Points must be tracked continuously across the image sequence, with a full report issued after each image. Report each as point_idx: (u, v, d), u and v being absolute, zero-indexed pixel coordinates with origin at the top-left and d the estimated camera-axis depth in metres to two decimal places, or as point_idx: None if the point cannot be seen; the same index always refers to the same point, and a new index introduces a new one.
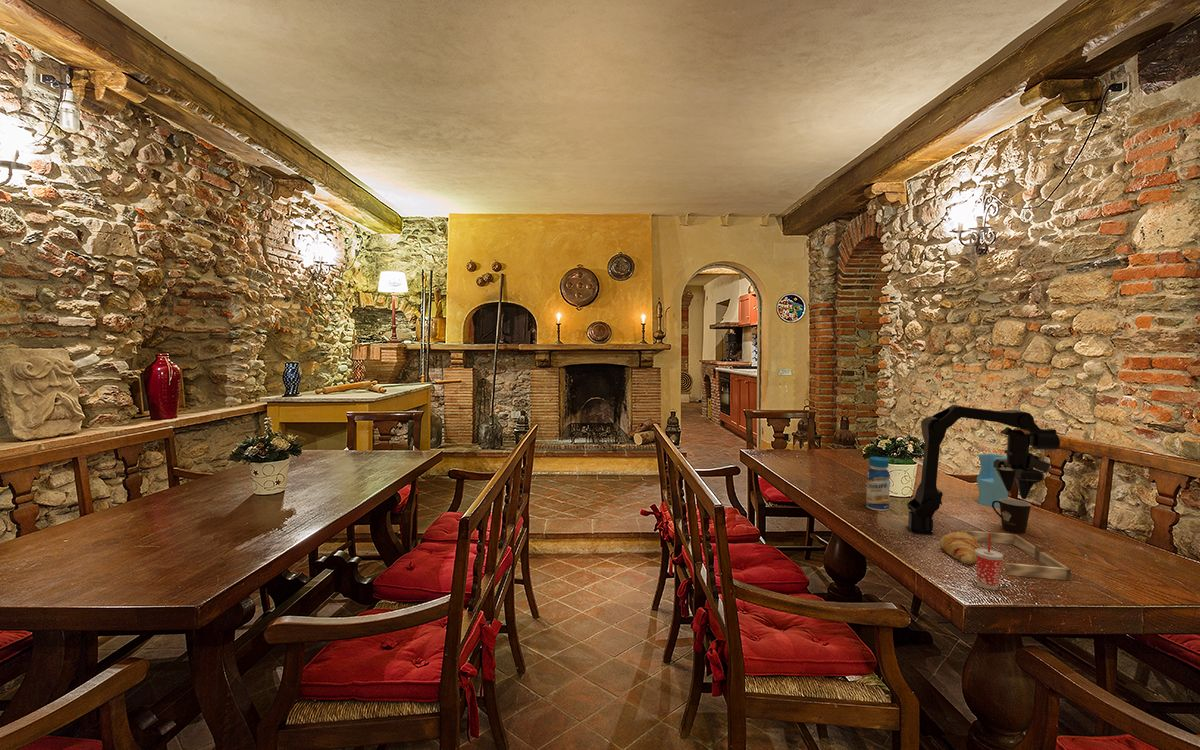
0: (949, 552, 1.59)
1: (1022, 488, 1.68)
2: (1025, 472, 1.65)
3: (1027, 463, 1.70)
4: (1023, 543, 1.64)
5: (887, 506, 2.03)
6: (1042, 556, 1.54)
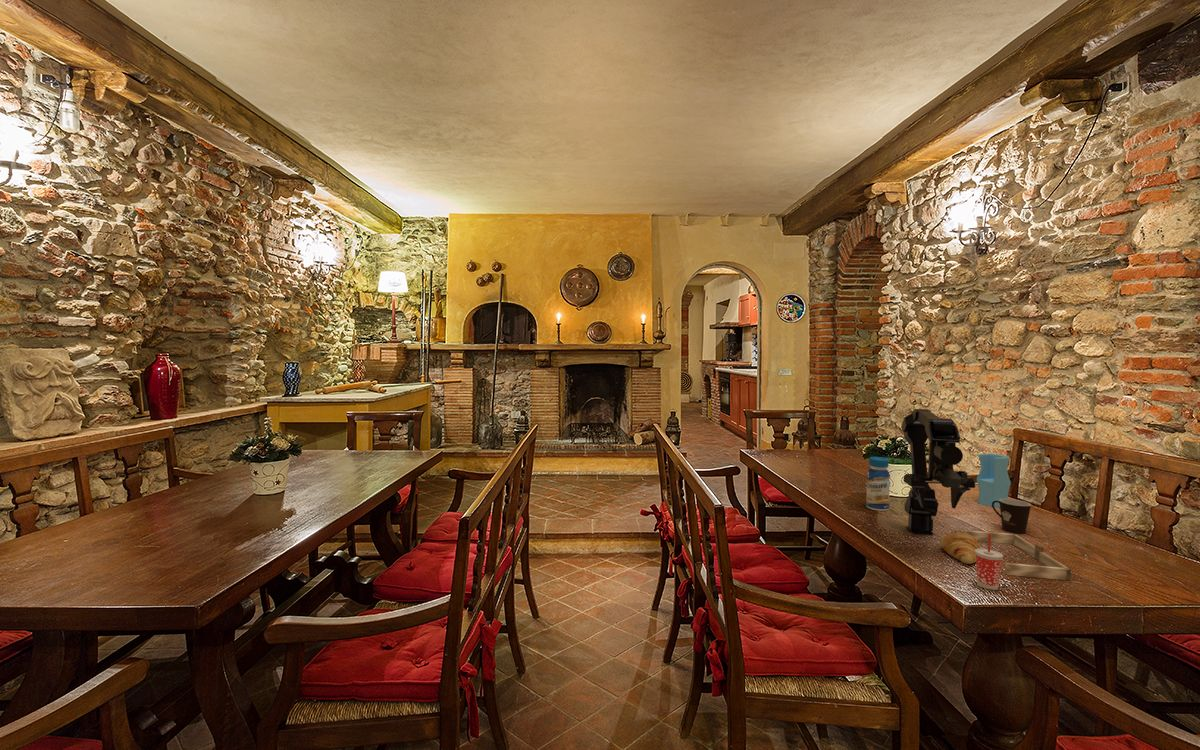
0: (949, 552, 1.59)
1: (916, 494, 1.65)
2: (905, 475, 1.66)
3: None
4: (1023, 543, 1.64)
5: (887, 506, 2.03)
6: (1042, 556, 1.54)
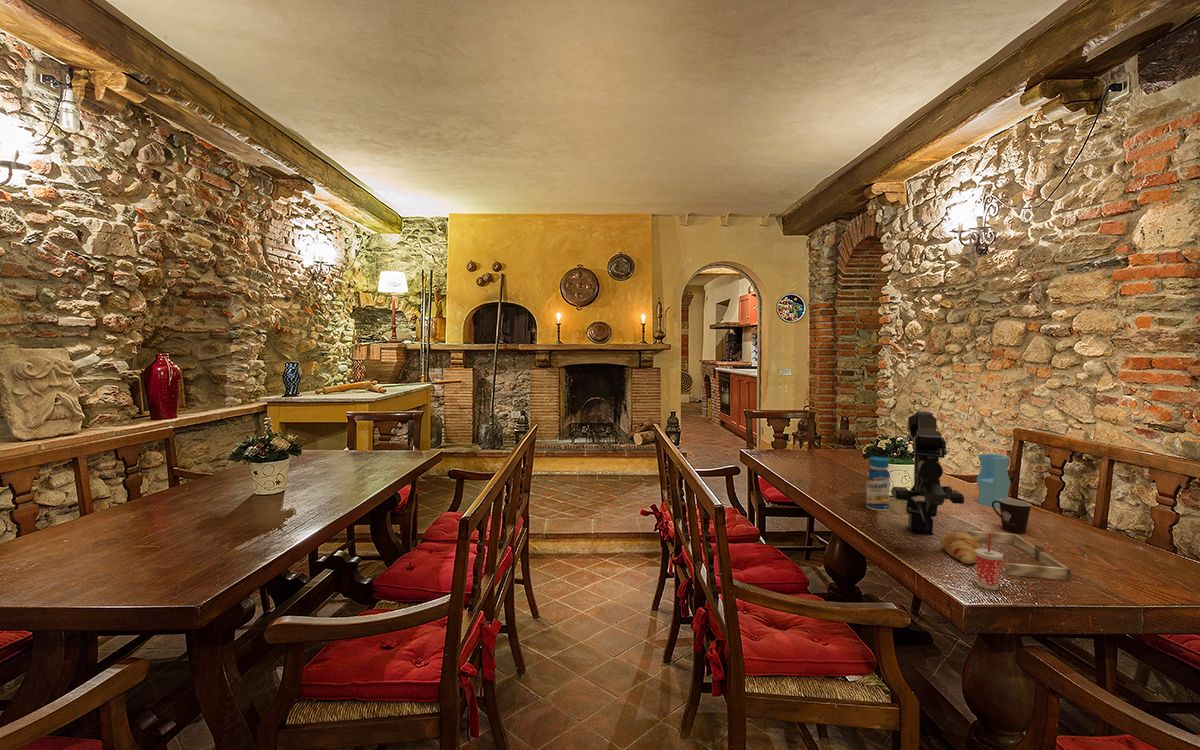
0: (949, 552, 1.59)
1: (919, 509, 1.65)
2: (892, 488, 1.67)
3: None
4: (1023, 543, 1.64)
5: (887, 506, 2.03)
6: (1042, 556, 1.54)
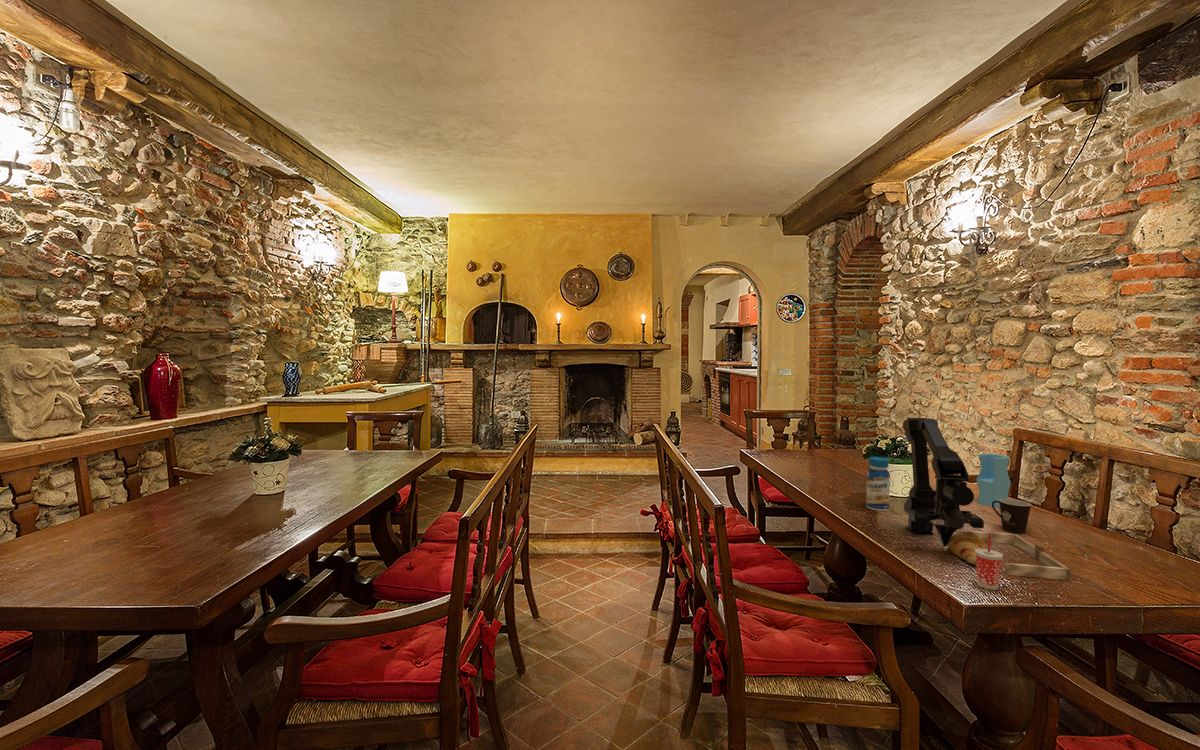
0: (956, 552, 1.59)
1: (938, 532, 1.63)
2: (910, 510, 1.66)
3: None
4: (1023, 543, 1.64)
5: (887, 506, 2.03)
6: (1042, 556, 1.54)
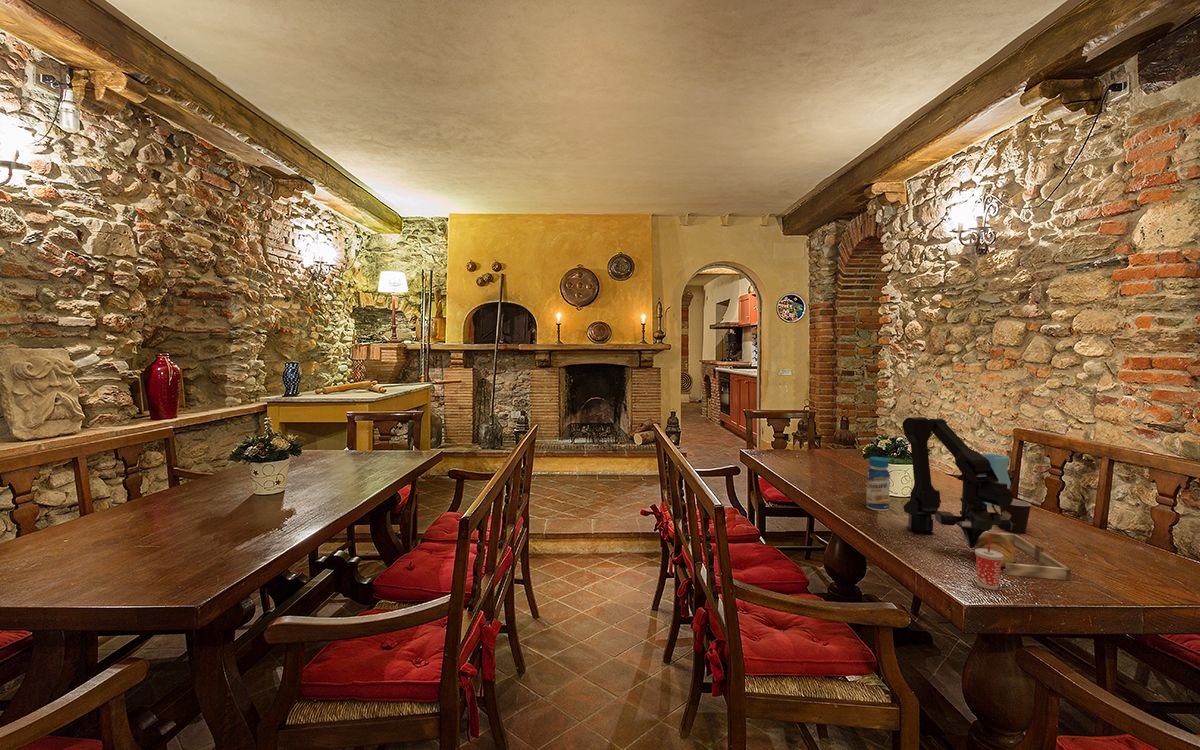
0: None
1: (965, 534, 1.62)
2: (936, 512, 1.64)
3: None
4: (1023, 543, 1.64)
5: (887, 506, 2.03)
6: (1042, 556, 1.54)
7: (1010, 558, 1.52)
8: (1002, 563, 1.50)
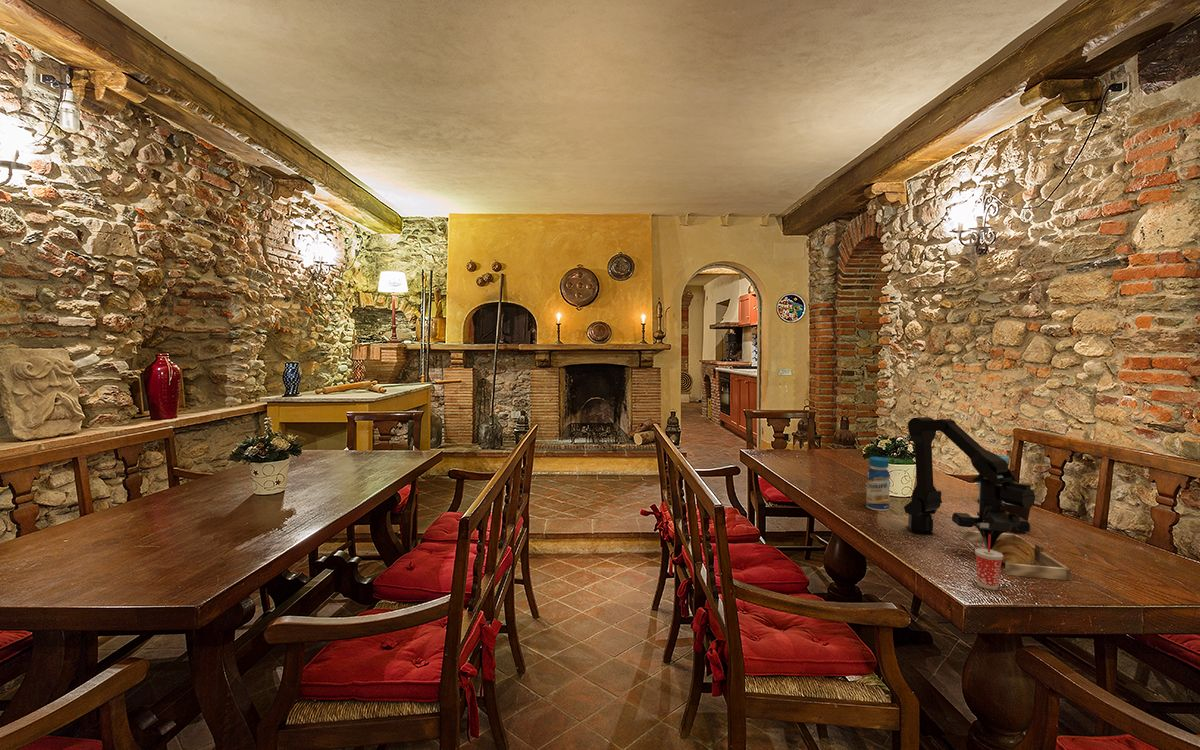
0: None
1: (982, 535, 1.61)
2: (953, 514, 1.63)
3: None
4: None
5: (887, 506, 2.03)
6: (1042, 556, 1.54)
7: (1026, 560, 1.50)
8: None
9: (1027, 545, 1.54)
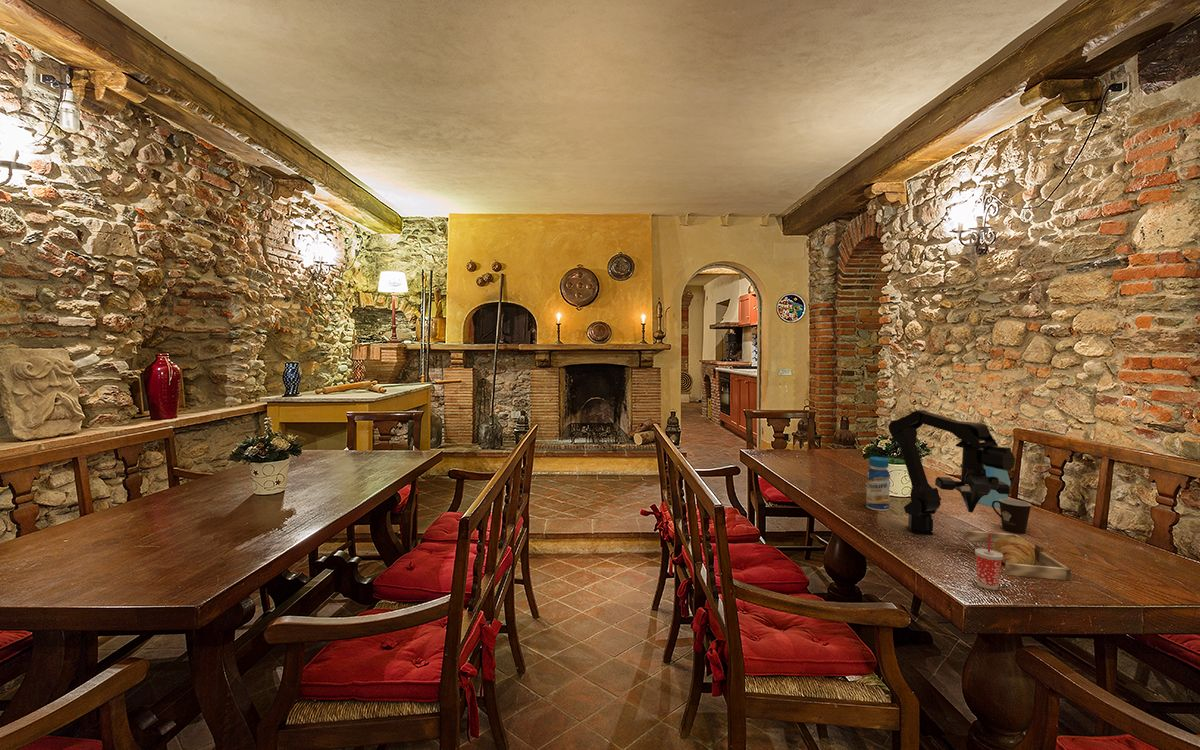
0: None
1: (964, 499, 1.66)
2: (936, 478, 1.69)
3: None
4: None
5: (887, 506, 2.03)
6: (1042, 556, 1.54)
7: (1027, 560, 1.50)
8: None
9: (1028, 545, 1.54)
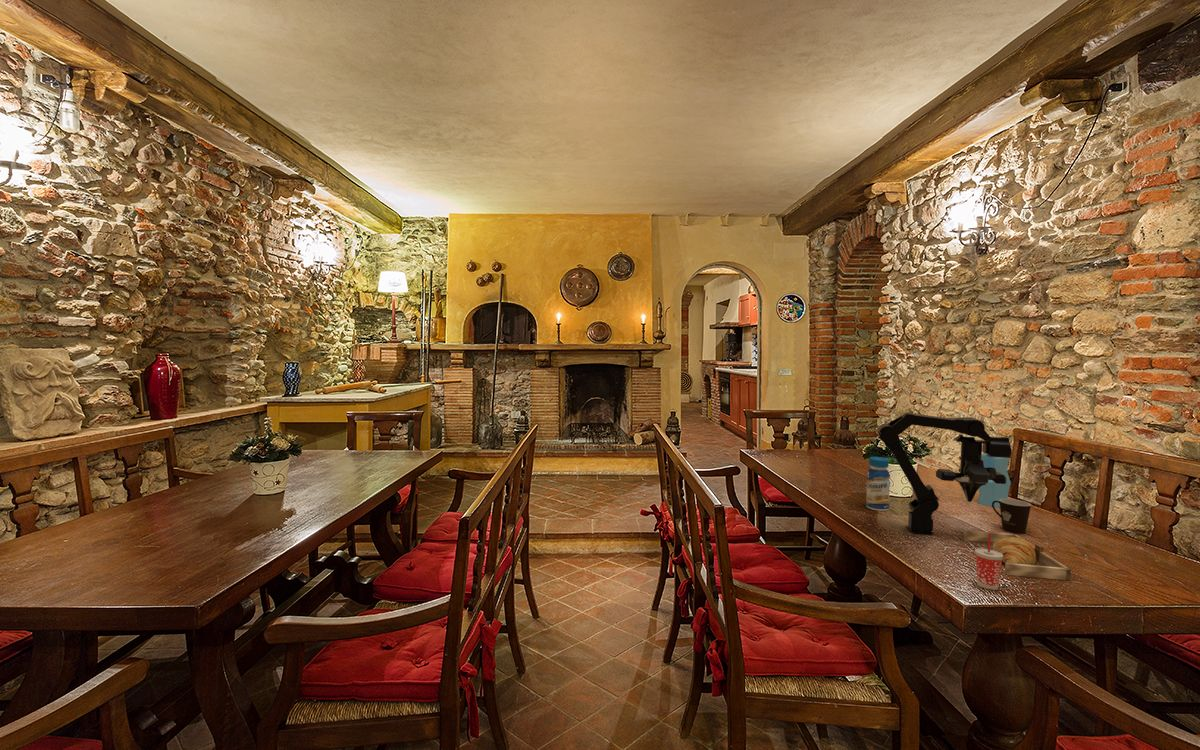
0: None
1: (963, 489, 1.76)
2: (937, 470, 1.79)
3: None
4: None
5: (887, 506, 2.03)
6: (1042, 556, 1.54)
7: (1027, 560, 1.50)
8: None
9: (1028, 545, 1.54)
